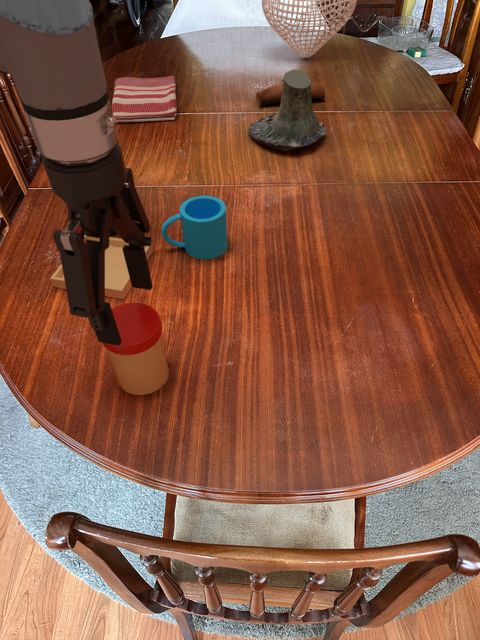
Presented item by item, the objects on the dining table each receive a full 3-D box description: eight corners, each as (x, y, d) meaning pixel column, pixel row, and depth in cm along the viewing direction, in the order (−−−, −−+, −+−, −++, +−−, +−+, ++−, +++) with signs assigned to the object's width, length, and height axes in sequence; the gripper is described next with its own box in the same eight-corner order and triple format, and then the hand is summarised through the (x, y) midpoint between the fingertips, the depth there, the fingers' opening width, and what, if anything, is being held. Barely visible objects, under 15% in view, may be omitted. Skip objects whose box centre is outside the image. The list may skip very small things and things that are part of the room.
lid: (90, 349, 67) (86, 340, 65) (116, 307, 72) (113, 297, 70) (148, 360, 65) (146, 351, 64) (170, 316, 71) (169, 307, 69)
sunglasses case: (315, 87, 142) (321, 70, 136) (321, 109, 141) (327, 93, 135) (253, 93, 139) (256, 76, 133) (258, 116, 138) (261, 99, 132)
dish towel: (175, 83, 145) (174, 73, 143) (178, 121, 129) (176, 110, 127) (115, 86, 143) (113, 76, 141) (110, 124, 128) (108, 114, 126)
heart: (340, 45, 165) (350, -39, 149) (356, 63, 155) (368, -25, 139) (256, 51, 161) (256, -35, 144) (267, 70, 151) (268, -20, 135)
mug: (224, 230, 99) (221, 193, 93) (231, 256, 94) (229, 218, 88) (162, 238, 97) (156, 200, 91) (166, 264, 92) (159, 227, 86)
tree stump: (305, 114, 133) (321, 46, 118) (332, 167, 125) (353, 102, 109) (239, 120, 129) (246, 50, 113) (262, 176, 120) (273, 109, 105)
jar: (109, 389, 74) (90, 341, 66) (129, 351, 79) (115, 302, 71) (158, 399, 73) (145, 352, 65) (176, 360, 77) (166, 311, 69)
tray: (53, 287, 88) (49, 278, 87) (87, 241, 97) (85, 233, 95) (124, 299, 86) (121, 290, 85) (152, 252, 95) (151, 243, 93)
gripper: (59, 218, 41) (118, 385, 58) (159, 102, 55) (183, 263, 72) (-23, 206, 42) (58, 373, 59) (95, 96, 56) (134, 255, 73)
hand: (127, 312), depth 66 cm, fingers open, 10 cm apart
